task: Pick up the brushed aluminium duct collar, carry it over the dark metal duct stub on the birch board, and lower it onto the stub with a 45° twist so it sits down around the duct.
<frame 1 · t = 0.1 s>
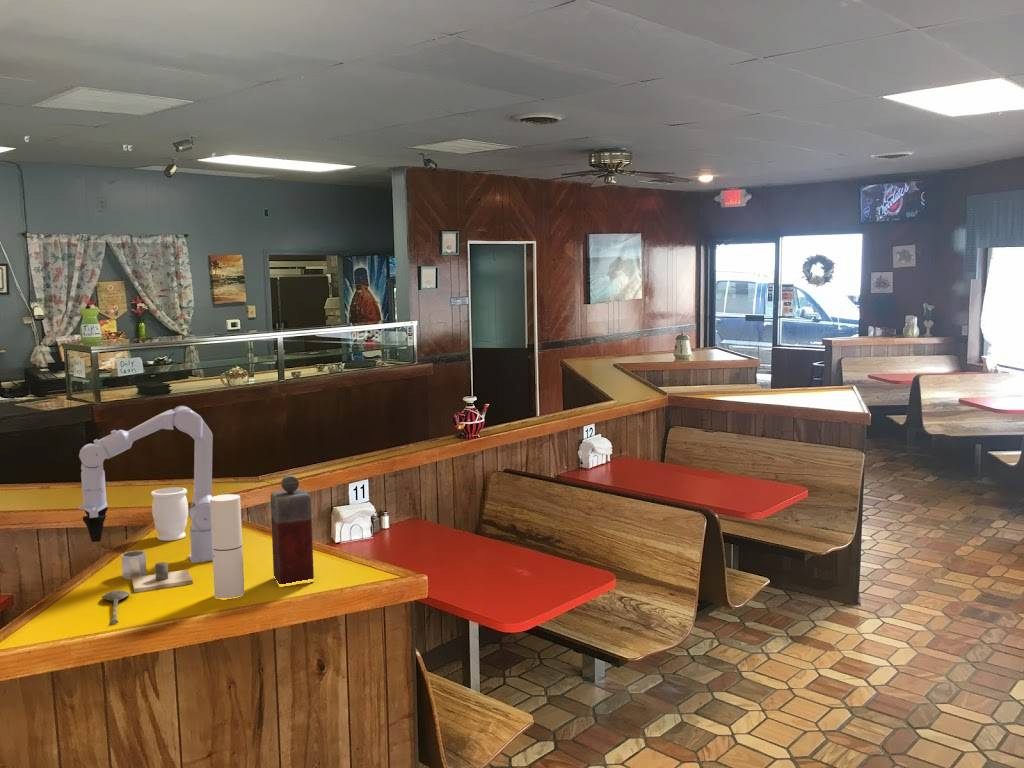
hand: (97, 537, 234), 10 cm above the table, tool pointing down, fingers open, 7 cm apart
duct collar: (134, 575, 233), on the table
jar: (171, 538, 270), on the table
ball-stopper bottle: (292, 579, 229), on the table
cylindrical container: (229, 596, 217), on the table
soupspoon: (115, 611, 208), on the table
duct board: (162, 582, 227), on the table
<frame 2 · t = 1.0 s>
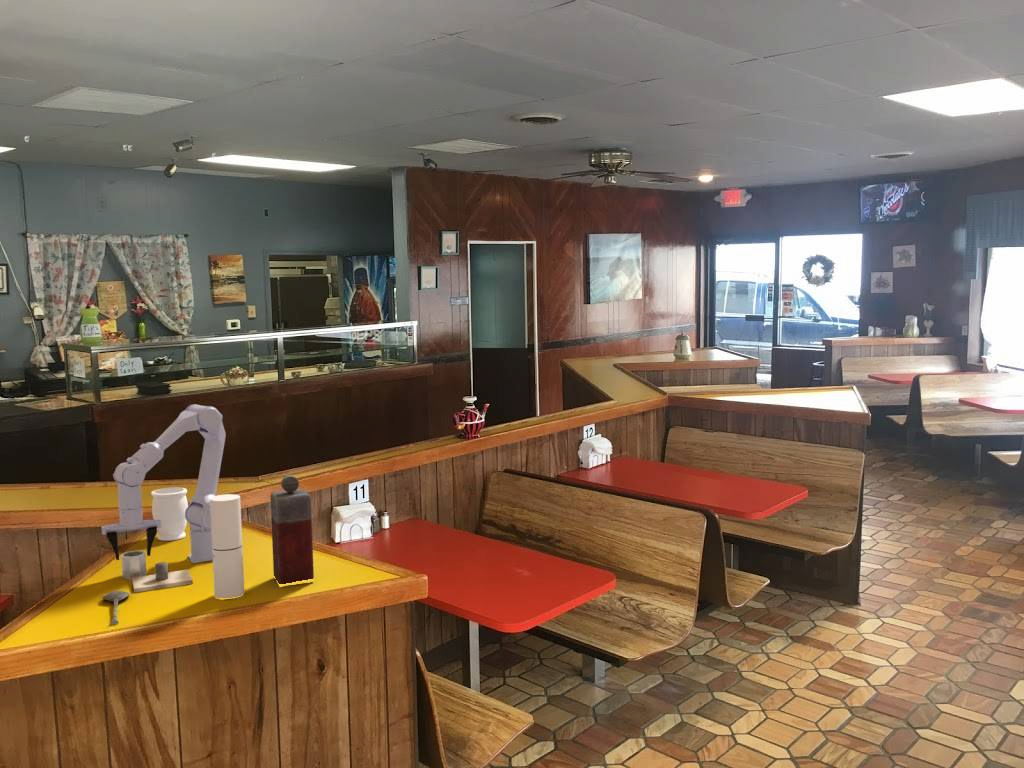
hand: (133, 557, 233), 5 cm above the table, tool pointing down, fingers open, 7 cm apart
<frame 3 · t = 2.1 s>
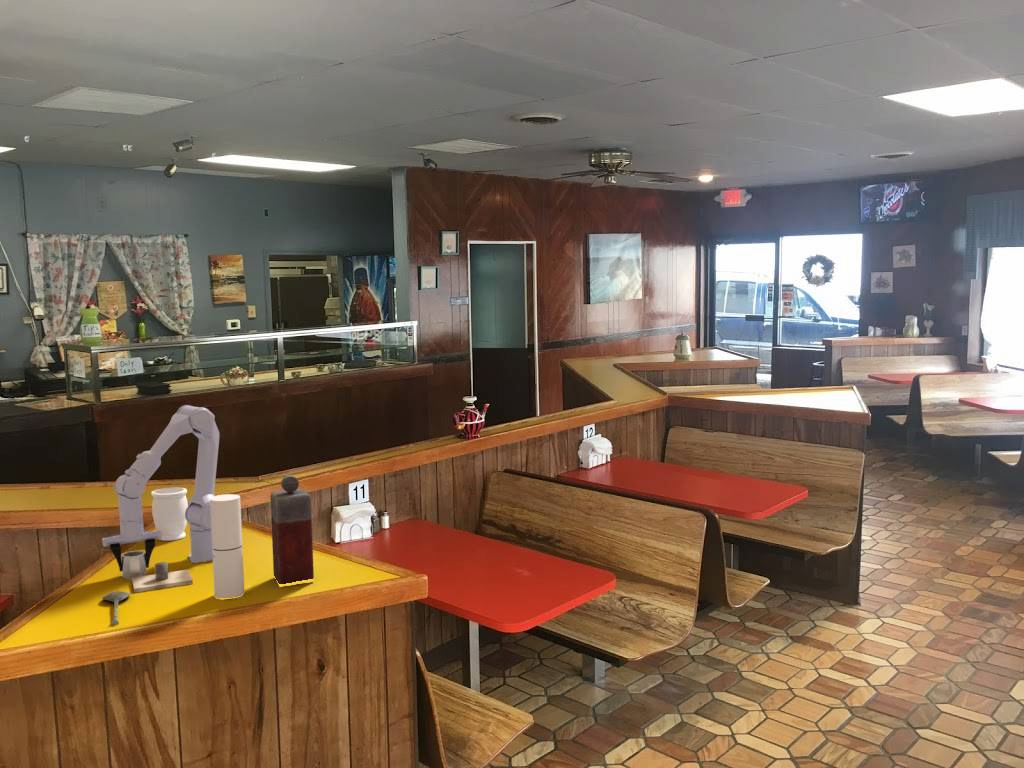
hand: (134, 568, 233), 2 cm above the table, tool pointing down, fingers closed on duct collar, 6 cm apart
duct collar: (134, 575, 233), on the table, touching gripper
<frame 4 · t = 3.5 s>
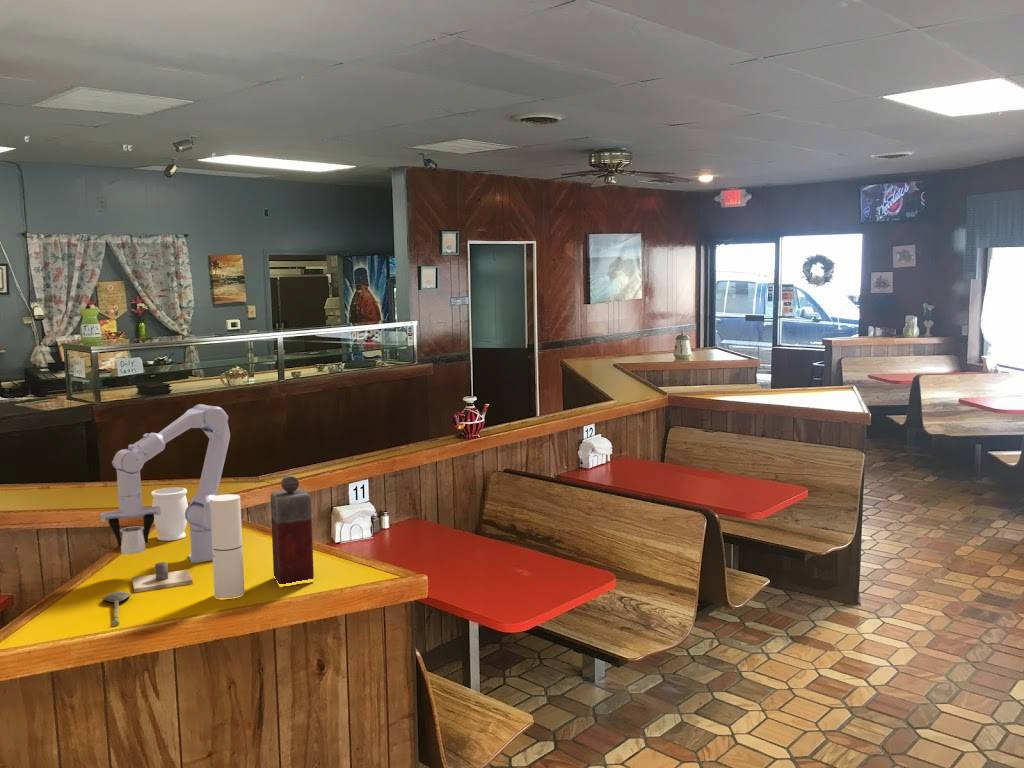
hand: (132, 544, 232), 9 cm above the table, tool pointing down, fingers closed on duct collar, 6 cm apart
duct collar: (133, 550, 232), point 7 cm above the table, touching gripper
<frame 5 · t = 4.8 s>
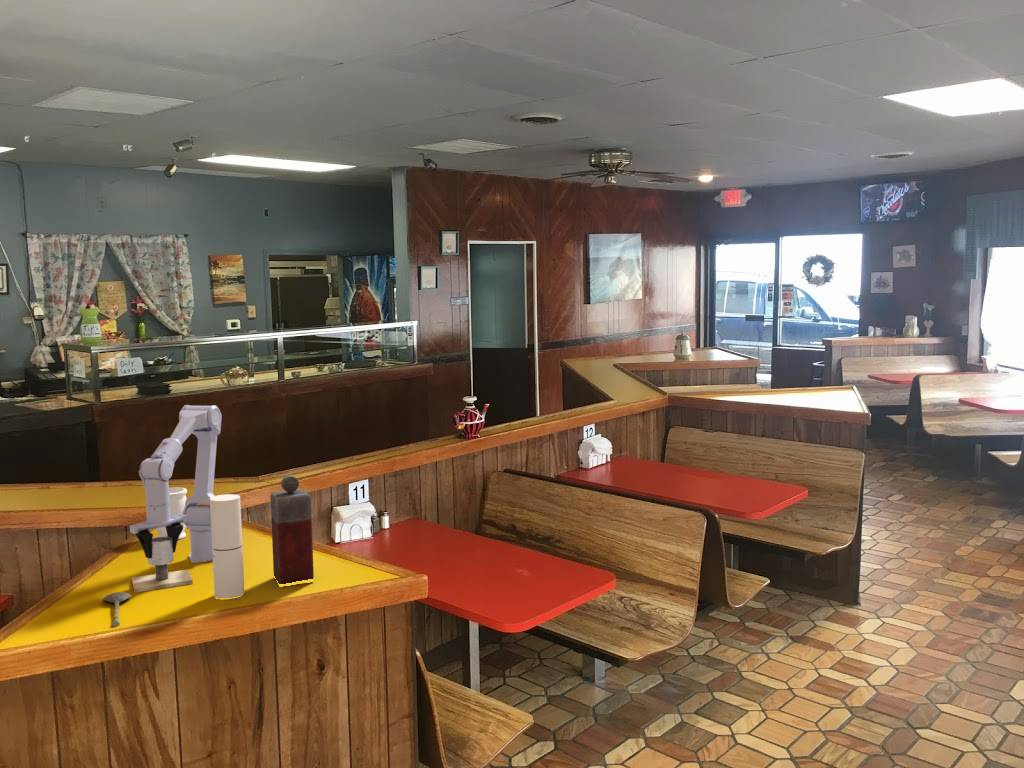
hand: (160, 554, 226), 8 cm above the table, tool pointing down, fingers closed on duct collar, 6 cm apart
duct collar: (161, 561, 226), point 6 cm above the table, touching gripper
when the fingers open (4 cm above the table, at t = 6.1 s): duct collar drops 1 cm, resting on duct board.
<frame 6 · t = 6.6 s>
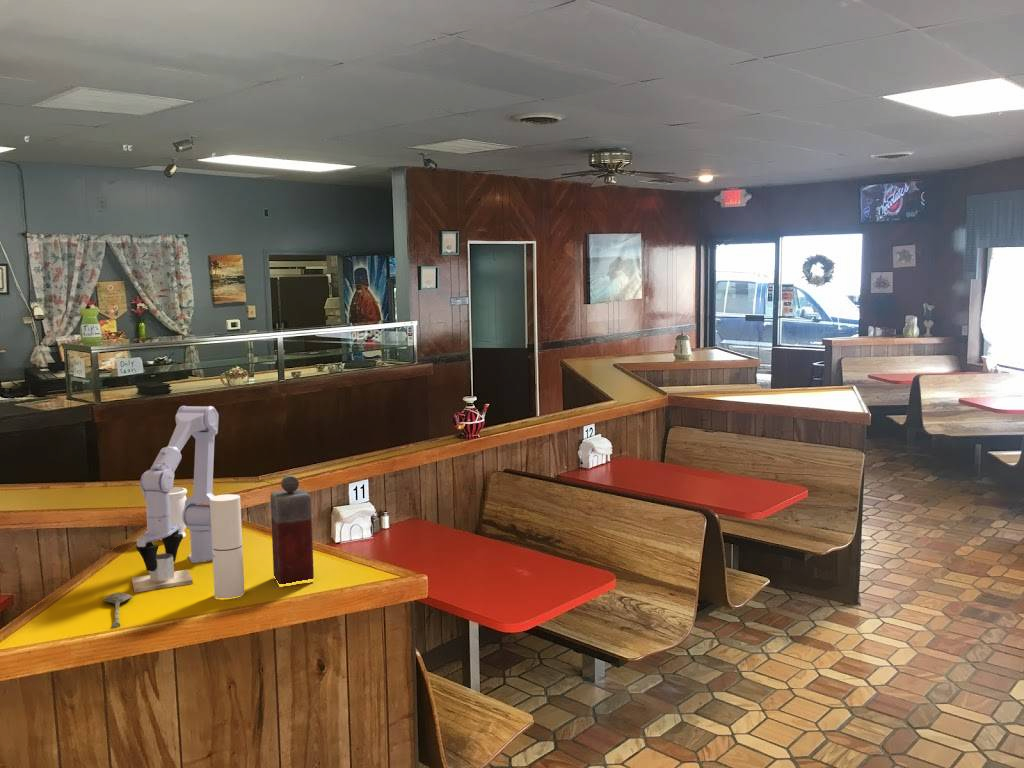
hand: (161, 566, 227), 4 cm above the table, tool pointing down, fingers open, 7 cm apart
duct collar: (162, 578, 227), point 1 cm above the table, touching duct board
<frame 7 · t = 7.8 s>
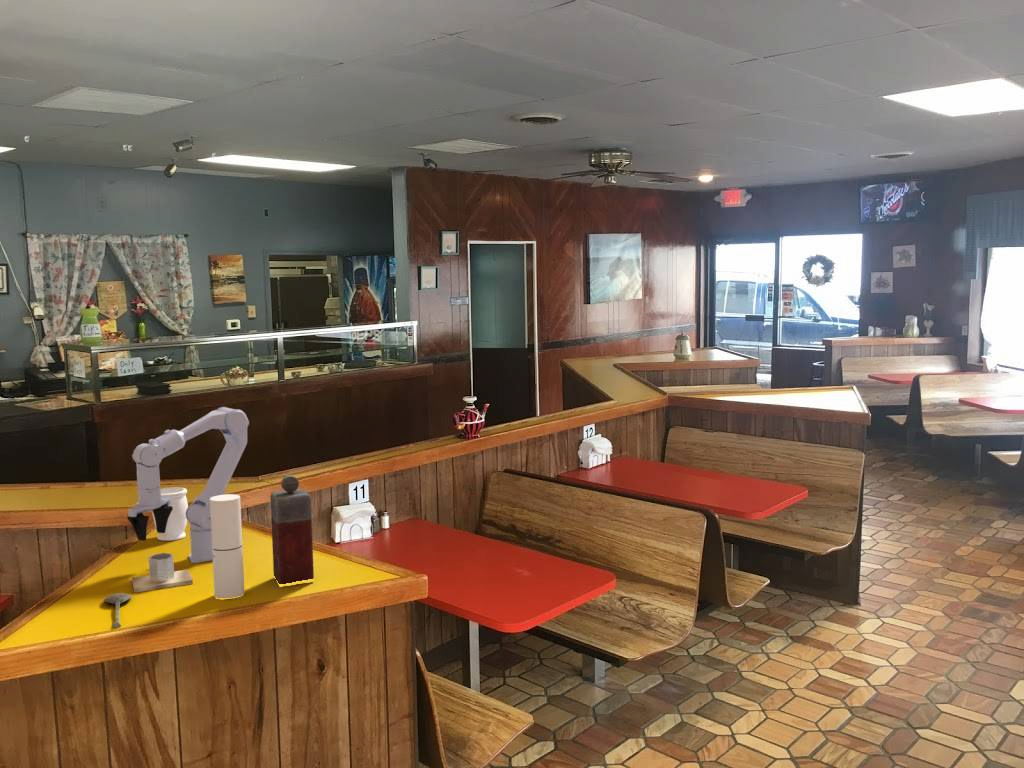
hand: (151, 536, 237), 9 cm above the table, tool pointing down, fingers open, 7 cm apart
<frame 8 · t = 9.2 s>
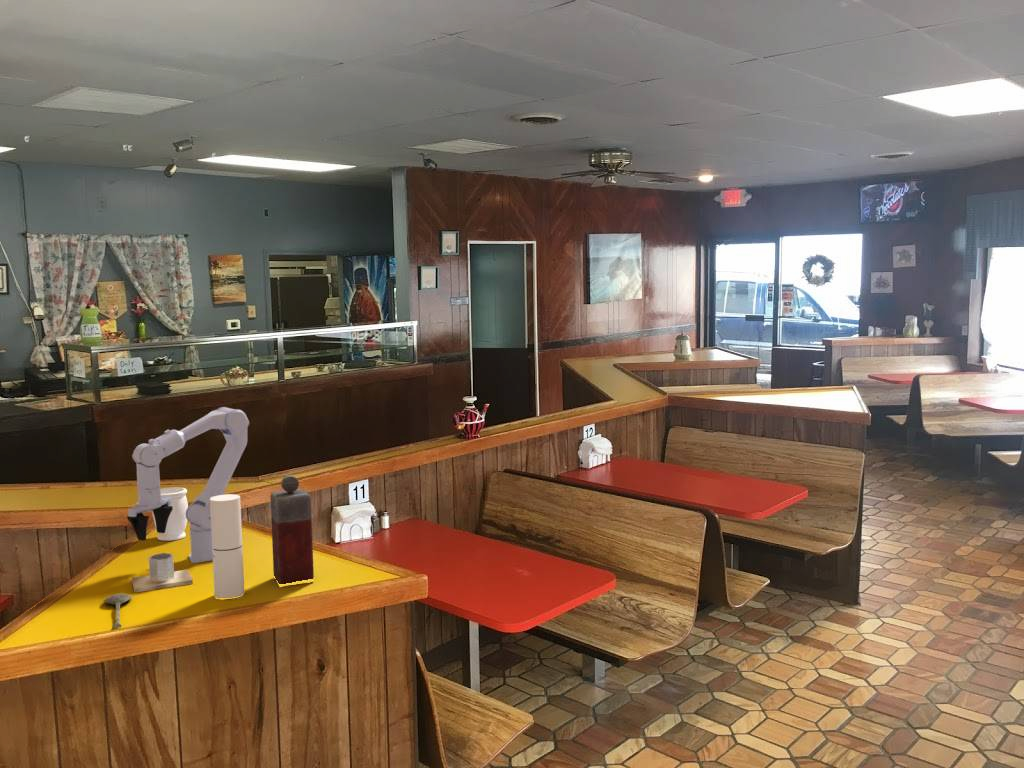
hand: (151, 536, 237), 9 cm above the table, tool pointing down, fingers open, 7 cm apart
at the end: duct collar 0.0 cm from the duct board (horizontally); duct collar point 1.0 cm above the table; duct collar tilted 0° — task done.
